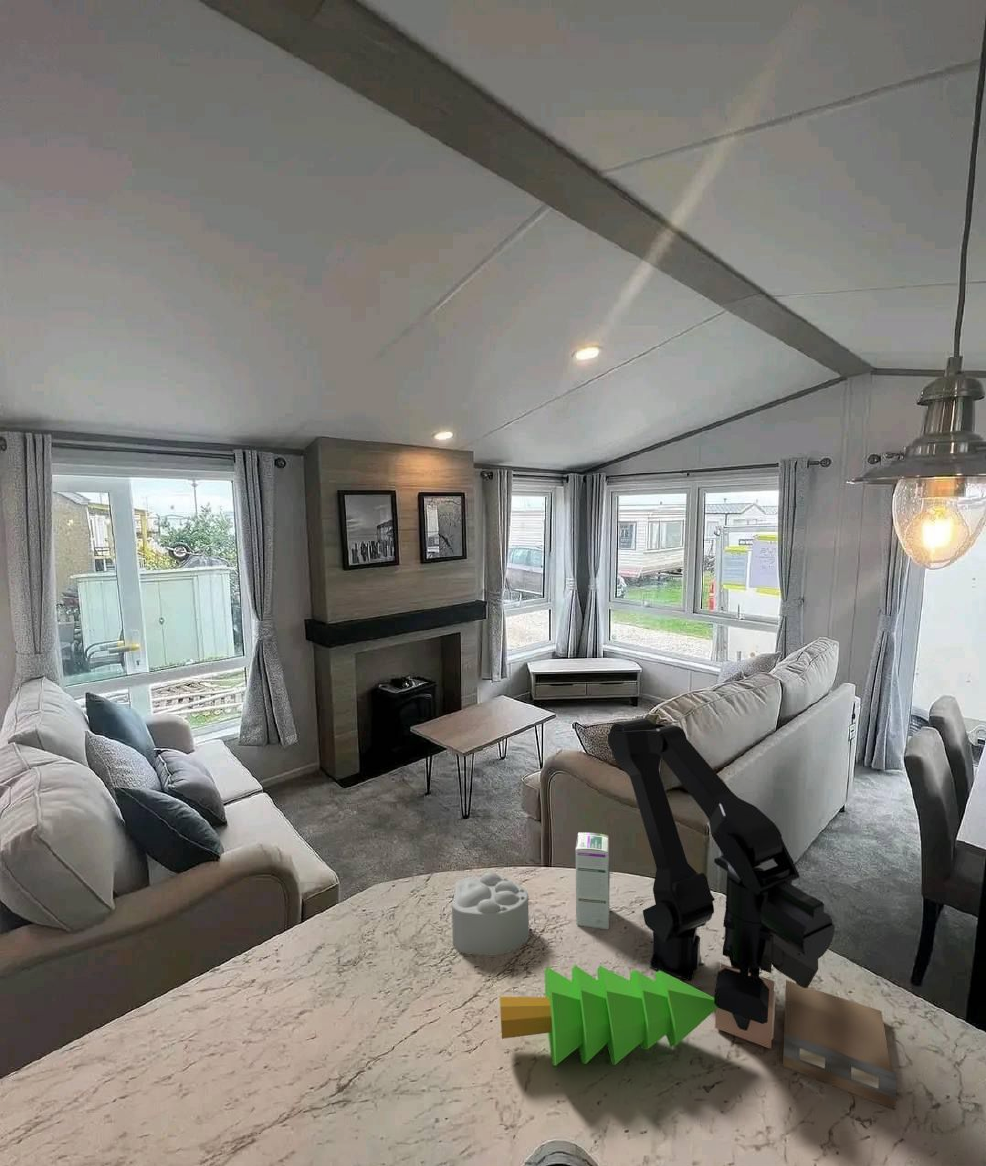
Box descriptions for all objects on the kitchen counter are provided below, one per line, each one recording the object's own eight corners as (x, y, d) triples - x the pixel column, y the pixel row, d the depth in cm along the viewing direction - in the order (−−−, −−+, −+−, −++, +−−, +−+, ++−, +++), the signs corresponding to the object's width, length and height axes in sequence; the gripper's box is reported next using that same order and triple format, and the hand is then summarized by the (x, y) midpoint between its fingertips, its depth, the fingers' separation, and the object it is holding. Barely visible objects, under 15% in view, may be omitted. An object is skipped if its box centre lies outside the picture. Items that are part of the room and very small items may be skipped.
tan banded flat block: (782, 1067, 74) (784, 1039, 74) (785, 989, 87) (786, 964, 86) (895, 1111, 68) (897, 1080, 68) (880, 1020, 81) (882, 994, 81)
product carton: (715, 1027, 80) (716, 987, 79) (719, 1001, 84) (720, 963, 83) (772, 1049, 76) (774, 1008, 76) (774, 1021, 81) (775, 981, 80)
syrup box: (609, 930, 100) (610, 851, 98) (575, 926, 101) (575, 847, 99) (609, 909, 105) (610, 833, 104) (576, 905, 106) (577, 830, 105)
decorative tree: (497, 950, 79) (714, 936, 79) (500, 995, 84) (702, 982, 84) (502, 1048, 69) (750, 1032, 69) (504, 1092, 74) (734, 1077, 74)
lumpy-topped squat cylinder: (457, 912, 105) (456, 867, 104) (528, 913, 104) (527, 868, 103) (450, 954, 94) (449, 905, 94) (529, 956, 94) (529, 906, 93)
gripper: (817, 977, 66) (811, 1099, 68) (814, 888, 83) (809, 988, 84) (715, 945, 72) (711, 1059, 73) (731, 867, 88) (728, 961, 90)
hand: (744, 1014), depth 80 cm, fingers closed on product carton, 5 cm apart
